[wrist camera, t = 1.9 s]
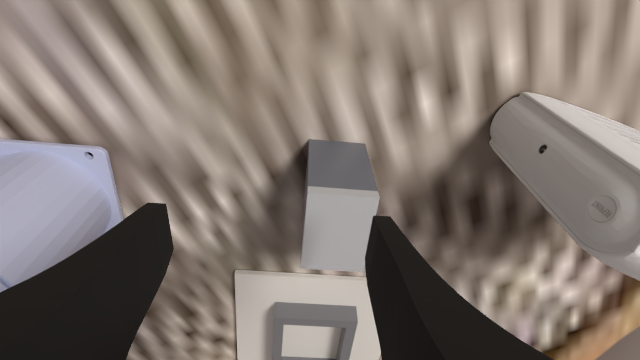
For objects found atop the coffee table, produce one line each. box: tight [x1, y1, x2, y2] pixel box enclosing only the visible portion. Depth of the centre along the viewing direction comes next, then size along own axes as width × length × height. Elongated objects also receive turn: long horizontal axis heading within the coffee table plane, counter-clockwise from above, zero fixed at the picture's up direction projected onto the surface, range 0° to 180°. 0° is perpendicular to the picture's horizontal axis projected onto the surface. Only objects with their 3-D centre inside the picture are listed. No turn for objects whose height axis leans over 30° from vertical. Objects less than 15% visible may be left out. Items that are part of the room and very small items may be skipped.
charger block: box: [300, 139, 380, 272], centre depth 21 cm, size 4×5×6 cm
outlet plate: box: [235, 270, 381, 360], centre depth 31 cm, size 13×14×2 cm
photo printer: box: [489, 92, 640, 281], centre depth 18 cm, size 10×4×12 cm, turn 71°
